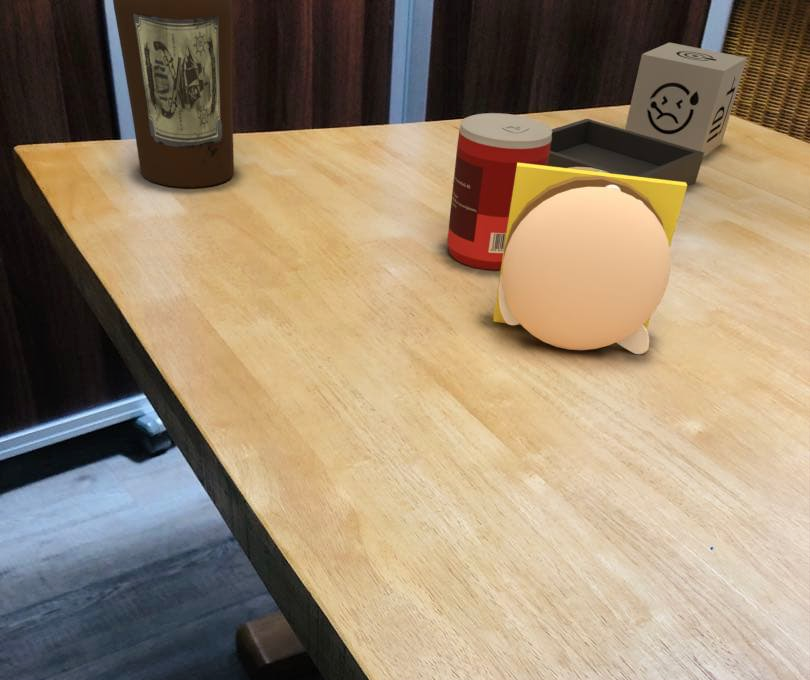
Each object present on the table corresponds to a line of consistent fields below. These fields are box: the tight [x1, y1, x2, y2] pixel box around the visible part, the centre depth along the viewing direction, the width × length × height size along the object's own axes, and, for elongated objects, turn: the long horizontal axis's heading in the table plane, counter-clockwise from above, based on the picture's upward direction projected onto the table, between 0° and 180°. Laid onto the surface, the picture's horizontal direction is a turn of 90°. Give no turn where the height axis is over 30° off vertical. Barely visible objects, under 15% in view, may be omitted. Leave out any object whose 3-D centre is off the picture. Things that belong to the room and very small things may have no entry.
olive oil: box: [112, 0, 235, 189], centre depth 81 cm, size 11×11×25 cm
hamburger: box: [492, 163, 688, 355], centre depth 64 cm, size 12×8×12 cm
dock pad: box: [547, 118, 704, 187], centre depth 97 cm, size 16×16×3 cm
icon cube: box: [624, 42, 748, 158], centre depth 108 cm, size 10×10×10 cm
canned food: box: [446, 112, 552, 271], centre depth 76 cm, size 8×8×11 cm
